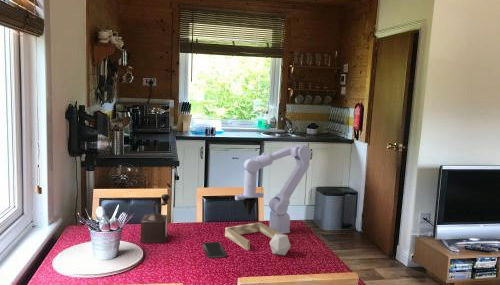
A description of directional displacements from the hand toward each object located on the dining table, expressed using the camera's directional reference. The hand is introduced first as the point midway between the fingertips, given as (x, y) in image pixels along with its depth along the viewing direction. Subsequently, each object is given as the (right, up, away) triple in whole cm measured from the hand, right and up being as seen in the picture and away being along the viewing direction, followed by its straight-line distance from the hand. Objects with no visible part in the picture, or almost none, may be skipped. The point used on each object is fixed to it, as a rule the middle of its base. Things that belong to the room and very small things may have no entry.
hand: (248, 213), depth 190 cm
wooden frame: (+2, -10, -7) cm, 13 cm away
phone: (-14, -12, -22) cm, 29 cm away
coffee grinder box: (-41, -9, -10) cm, 43 cm away
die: (+13, -13, -21) cm, 28 cm away
